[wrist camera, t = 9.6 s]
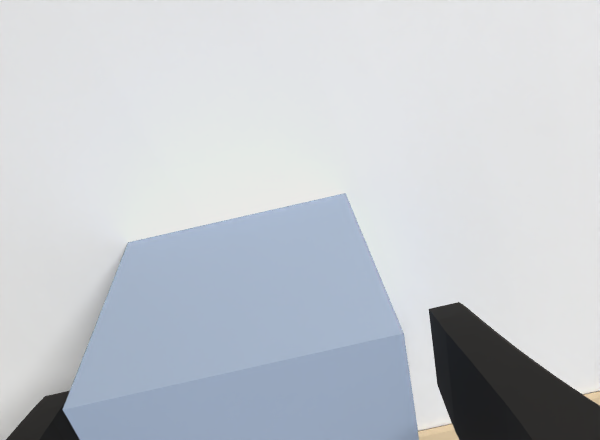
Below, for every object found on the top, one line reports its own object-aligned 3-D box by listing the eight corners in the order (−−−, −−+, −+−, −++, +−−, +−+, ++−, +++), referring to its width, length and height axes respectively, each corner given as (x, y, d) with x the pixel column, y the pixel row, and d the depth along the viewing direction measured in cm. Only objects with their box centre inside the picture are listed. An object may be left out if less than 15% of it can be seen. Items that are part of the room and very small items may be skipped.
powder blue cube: (344, 191, 12) (403, 333, 8) (375, 357, 14) (434, 541, 10) (128, 240, 12) (62, 409, 8) (193, 398, 14) (171, 598, 10)
